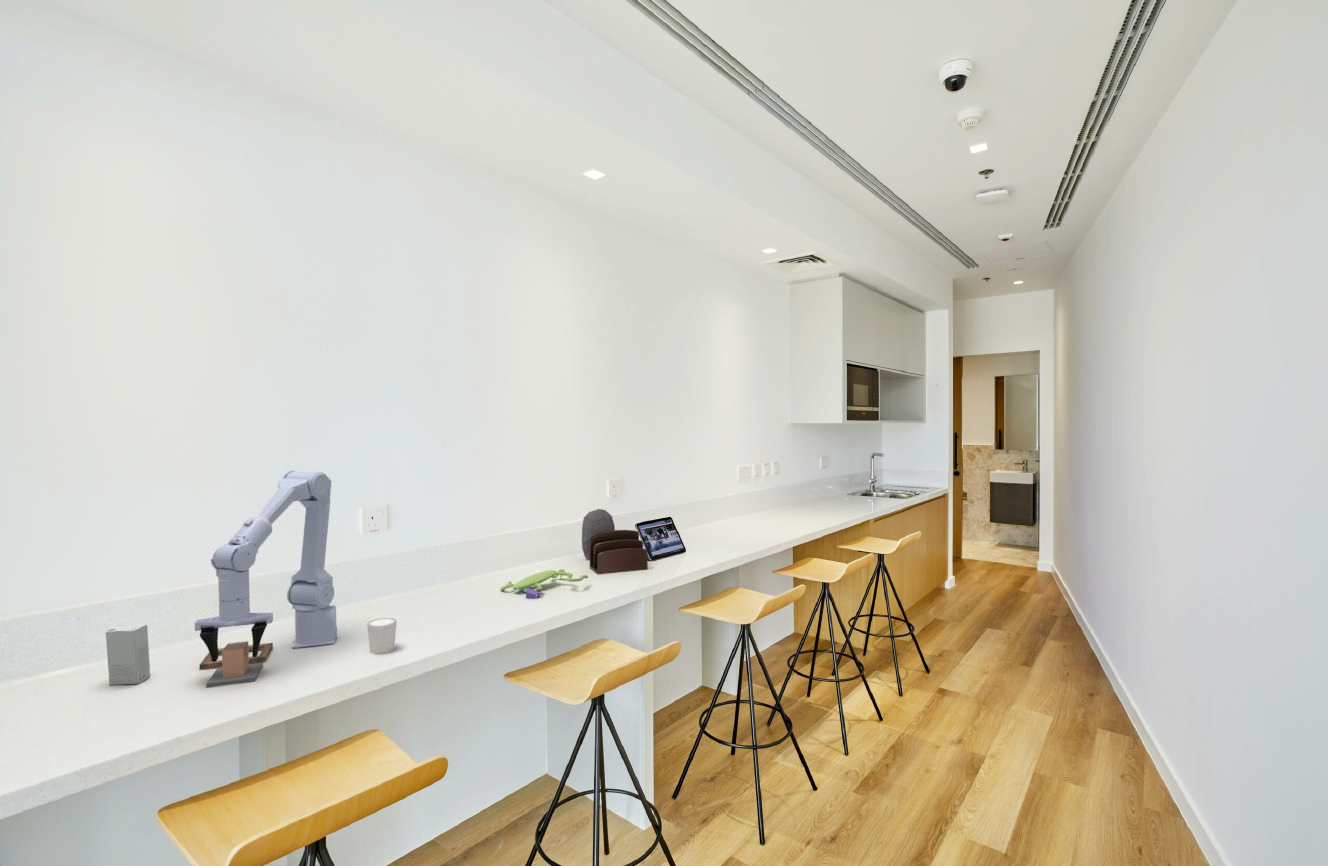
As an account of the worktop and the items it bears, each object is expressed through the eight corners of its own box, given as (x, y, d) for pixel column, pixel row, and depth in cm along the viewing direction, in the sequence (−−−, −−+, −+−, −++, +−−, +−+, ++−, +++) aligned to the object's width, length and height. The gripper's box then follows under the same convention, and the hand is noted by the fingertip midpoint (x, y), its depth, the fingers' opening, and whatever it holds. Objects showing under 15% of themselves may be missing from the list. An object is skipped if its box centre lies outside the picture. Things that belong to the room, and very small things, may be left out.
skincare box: (151, 676, 146) (150, 623, 145) (137, 685, 141) (135, 630, 141) (121, 677, 145) (120, 623, 145) (106, 686, 141) (104, 630, 140)
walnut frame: (272, 647, 164) (272, 642, 164) (265, 662, 154) (264, 657, 154) (211, 654, 159) (211, 649, 159) (199, 669, 150) (199, 664, 150)
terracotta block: (248, 666, 150) (248, 641, 149) (243, 675, 145) (243, 648, 145) (228, 669, 148) (227, 643, 148) (222, 678, 143) (221, 651, 143)
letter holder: (589, 568, 246) (589, 531, 245) (638, 564, 254) (638, 528, 254) (597, 575, 237) (597, 536, 236) (648, 570, 245) (648, 532, 244)
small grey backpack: (608, 554, 270) (608, 506, 269) (620, 557, 263) (621, 508, 262) (577, 559, 260) (577, 509, 259) (589, 563, 254) (589, 512, 253)
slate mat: (263, 666, 152) (262, 662, 152) (254, 681, 144) (254, 677, 144) (217, 671, 149) (217, 668, 149) (206, 687, 140) (206, 683, 140)
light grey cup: (402, 647, 164) (402, 620, 164) (378, 656, 158) (378, 628, 158) (385, 642, 168) (385, 615, 167) (361, 651, 162) (360, 623, 162)
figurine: (593, 590, 218) (593, 573, 218) (517, 603, 203) (517, 586, 202) (567, 578, 233) (567, 562, 233) (495, 590, 218) (495, 573, 217)
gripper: (189, 606, 139) (191, 669, 140) (268, 599, 145) (269, 659, 145) (199, 597, 146) (200, 657, 146) (274, 591, 151) (275, 648, 152)
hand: (235, 657), depth 146 cm, fingers open, 7 cm apart
